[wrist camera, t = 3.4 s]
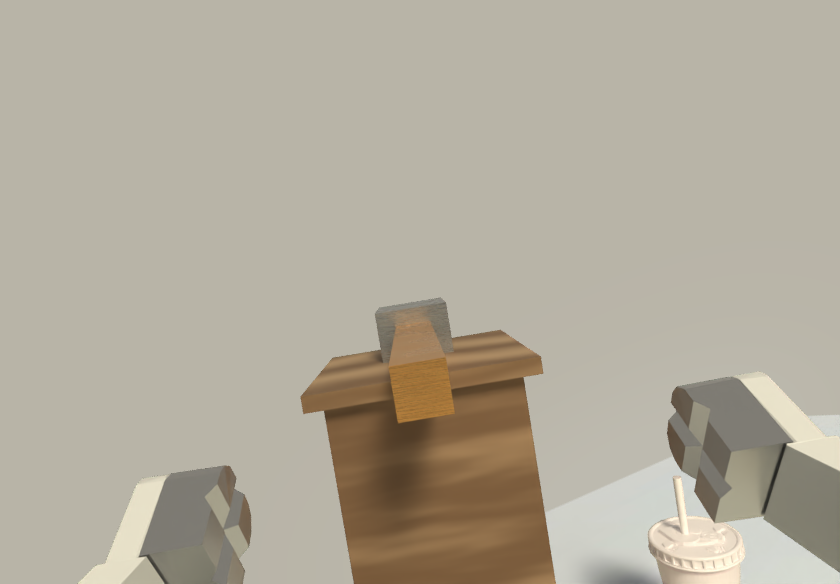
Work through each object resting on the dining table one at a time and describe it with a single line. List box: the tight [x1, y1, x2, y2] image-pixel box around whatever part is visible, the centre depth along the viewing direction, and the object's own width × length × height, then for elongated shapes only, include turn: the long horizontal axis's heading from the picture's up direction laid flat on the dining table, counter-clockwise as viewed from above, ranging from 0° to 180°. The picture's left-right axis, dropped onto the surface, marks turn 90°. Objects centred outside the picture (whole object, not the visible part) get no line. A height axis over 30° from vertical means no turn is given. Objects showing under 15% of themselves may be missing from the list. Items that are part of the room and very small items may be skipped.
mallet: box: [375, 298, 455, 423], centre depth 34 cm, size 22×5×4 cm, turn 2°
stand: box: [301, 330, 556, 584], centre depth 40 cm, size 14×14×26 cm
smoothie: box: [648, 476, 745, 584], centre depth 41 cm, size 6×6×14 cm
